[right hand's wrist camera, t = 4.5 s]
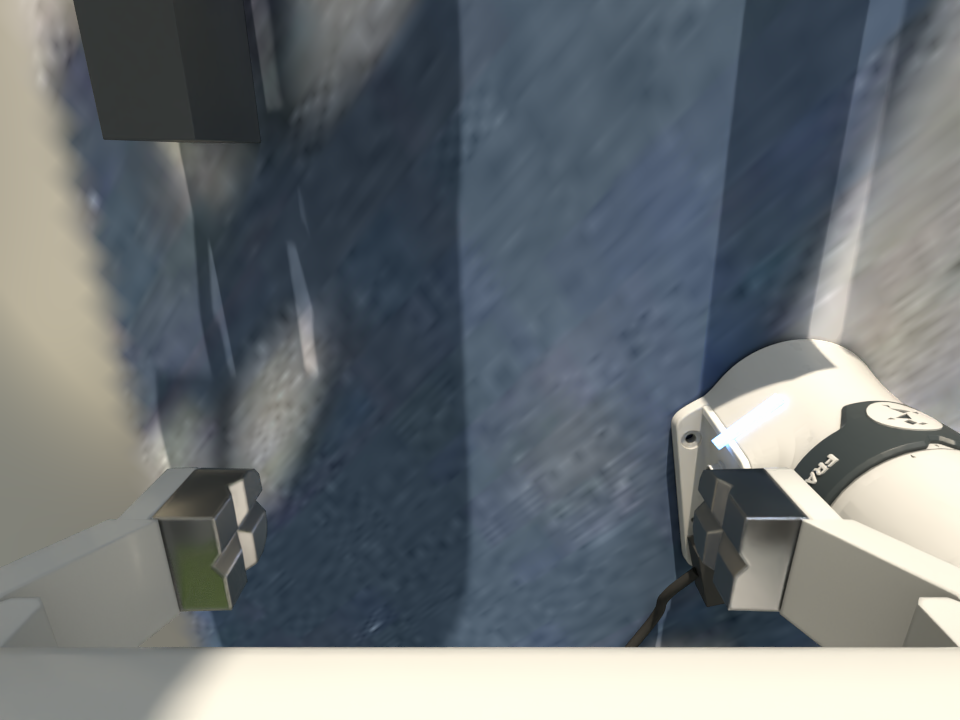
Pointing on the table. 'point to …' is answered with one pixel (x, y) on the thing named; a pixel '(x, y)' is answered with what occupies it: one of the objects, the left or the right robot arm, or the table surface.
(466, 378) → the table surface
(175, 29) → the bar
